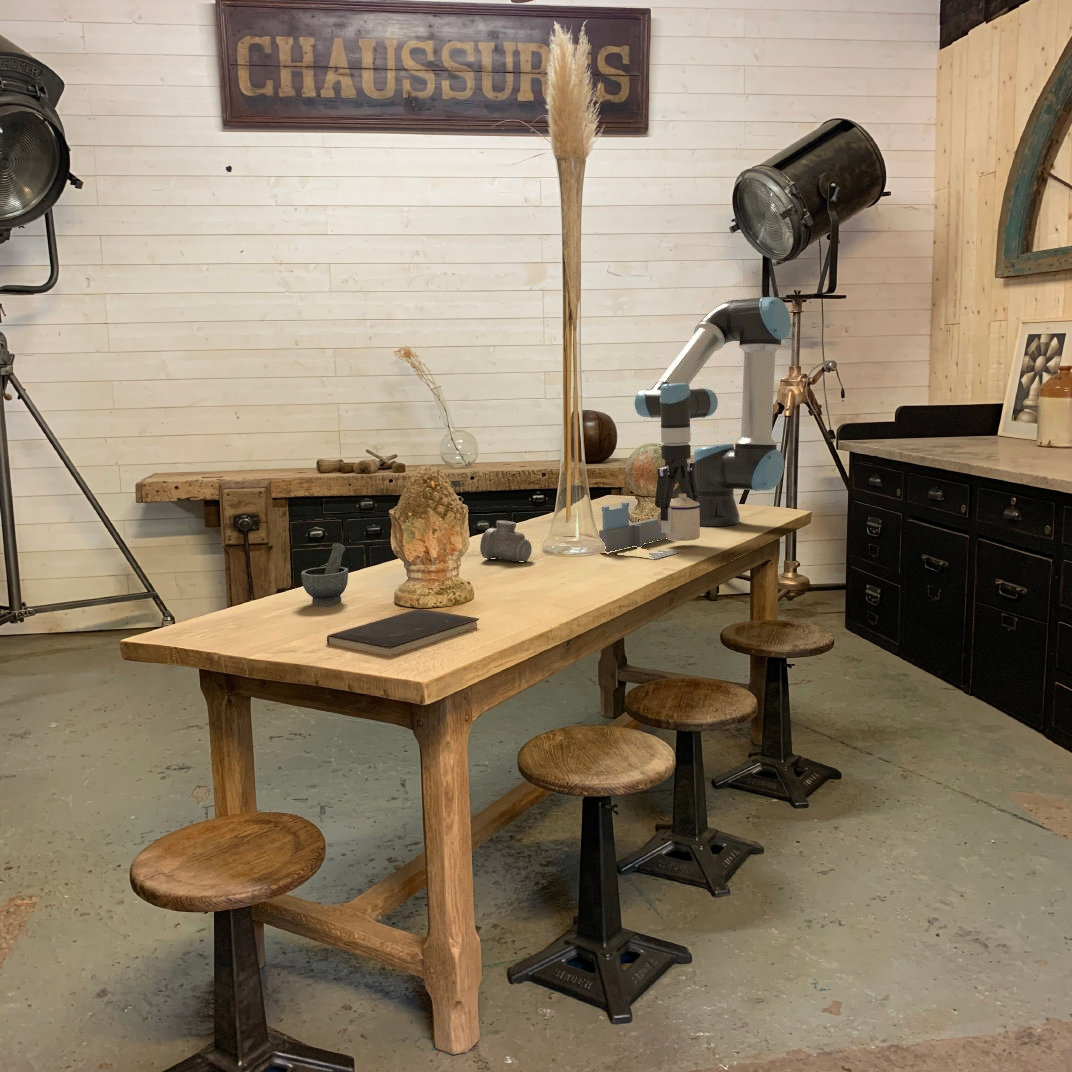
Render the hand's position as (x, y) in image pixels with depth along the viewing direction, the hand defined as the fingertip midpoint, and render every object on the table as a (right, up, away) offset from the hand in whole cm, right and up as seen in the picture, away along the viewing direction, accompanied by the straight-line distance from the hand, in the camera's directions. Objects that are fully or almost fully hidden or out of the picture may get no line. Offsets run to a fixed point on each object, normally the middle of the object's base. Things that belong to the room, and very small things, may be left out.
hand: (677, 529), depth 270 cm
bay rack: (-5, -5, -2) cm, 8 cm away
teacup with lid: (0, -2, 0) cm, 2 cm away
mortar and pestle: (-80, -16, -53) cm, 97 cm away
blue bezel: (-16, +1, -4) cm, 17 cm away
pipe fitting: (-44, -8, -12) cm, 46 cm away
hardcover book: (-61, -20, -82) cm, 104 cm away
